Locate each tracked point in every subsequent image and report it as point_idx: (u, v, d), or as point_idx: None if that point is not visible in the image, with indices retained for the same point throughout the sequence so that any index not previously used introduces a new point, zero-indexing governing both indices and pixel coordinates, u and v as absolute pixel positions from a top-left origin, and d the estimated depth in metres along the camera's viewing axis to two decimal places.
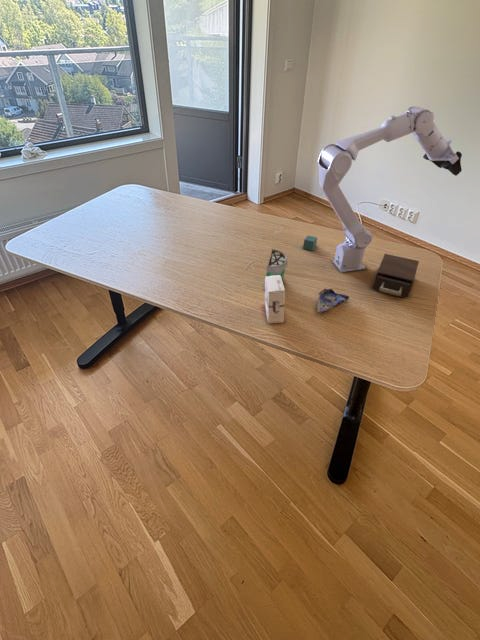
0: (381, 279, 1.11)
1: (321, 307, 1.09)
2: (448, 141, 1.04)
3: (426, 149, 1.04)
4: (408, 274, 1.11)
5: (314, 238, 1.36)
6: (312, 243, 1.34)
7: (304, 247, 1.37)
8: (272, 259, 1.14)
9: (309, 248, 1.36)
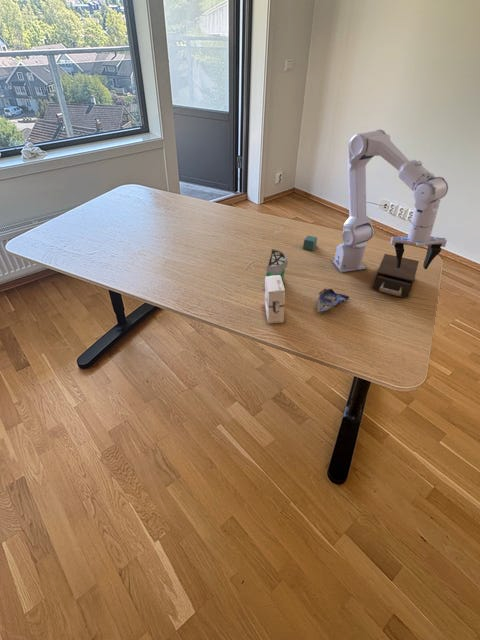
0: (381, 279, 1.11)
1: (321, 307, 1.09)
2: (418, 243, 0.98)
3: None
4: (408, 274, 1.11)
5: (314, 238, 1.36)
6: (312, 243, 1.34)
7: (304, 247, 1.37)
8: (272, 259, 1.14)
9: (309, 248, 1.36)
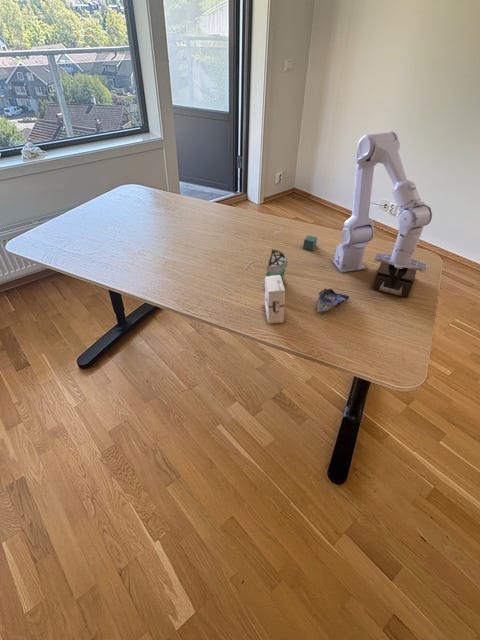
0: (381, 278, 1.12)
1: (321, 307, 1.09)
2: (397, 265, 1.02)
3: None
4: (408, 274, 1.11)
5: (314, 238, 1.36)
6: (312, 243, 1.34)
7: (304, 247, 1.37)
8: (272, 259, 1.14)
9: (309, 248, 1.36)
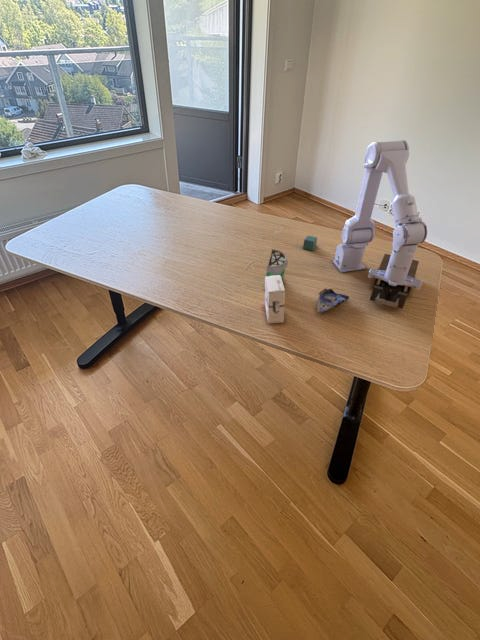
0: (377, 289, 1.07)
1: (321, 307, 1.09)
2: (391, 282, 0.98)
3: None
4: (408, 274, 1.11)
5: (314, 238, 1.36)
6: (312, 243, 1.34)
7: (304, 247, 1.37)
8: (272, 259, 1.14)
9: (309, 248, 1.36)
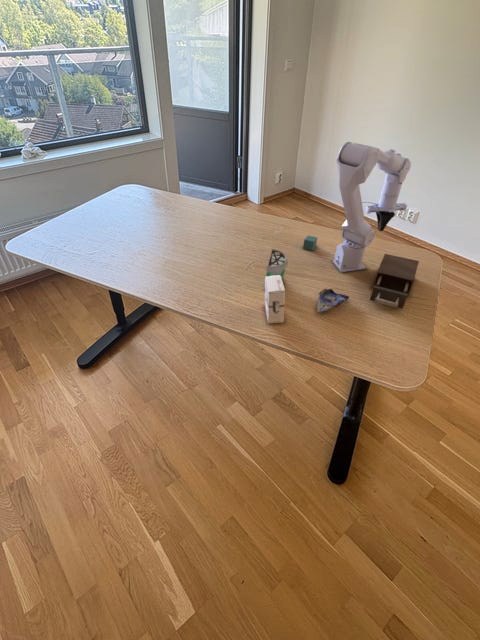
0: (377, 289, 1.07)
1: (321, 307, 1.09)
2: (390, 209, 1.20)
3: None
4: (408, 274, 1.11)
5: (314, 238, 1.36)
6: (312, 243, 1.34)
7: (304, 247, 1.37)
8: (272, 259, 1.14)
9: (309, 248, 1.36)
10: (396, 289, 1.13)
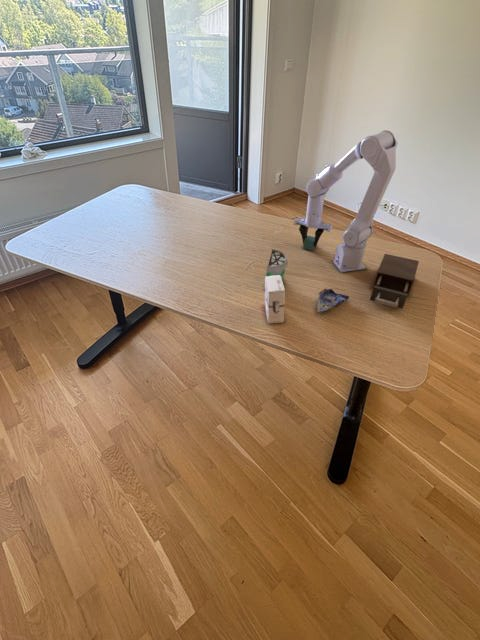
0: (377, 289, 1.07)
1: (321, 307, 1.09)
2: None
3: (314, 215, 1.26)
4: (408, 274, 1.11)
5: (314, 238, 1.36)
6: (312, 243, 1.34)
7: (304, 247, 1.37)
8: (272, 259, 1.14)
9: (309, 248, 1.36)
10: (396, 289, 1.13)
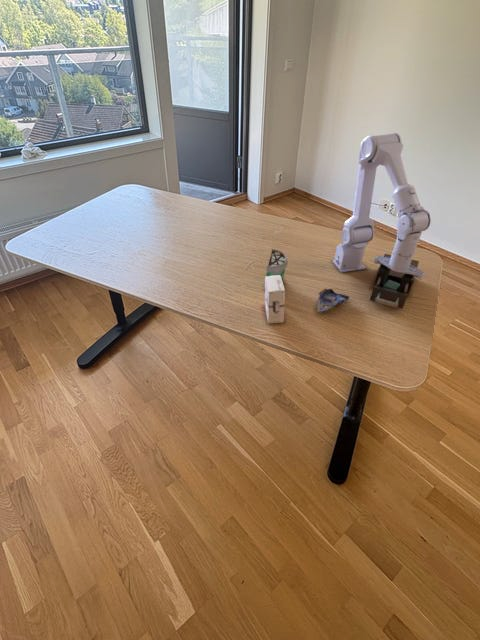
0: (377, 289, 1.07)
1: (321, 307, 1.09)
2: None
3: (403, 256, 0.99)
4: None
5: (397, 285, 1.08)
6: None
7: None
8: (272, 259, 1.14)
9: None
10: None
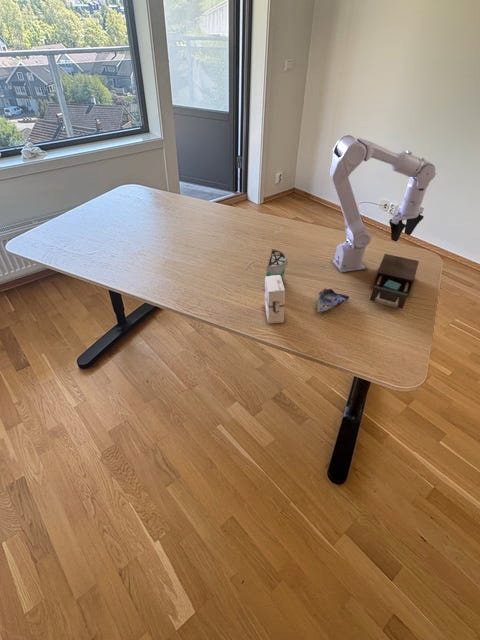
0: (377, 289, 1.07)
1: (321, 307, 1.09)
2: (401, 208, 1.18)
3: (421, 201, 1.12)
4: (408, 274, 1.11)
5: (397, 285, 1.08)
6: None
7: None
8: (272, 259, 1.14)
9: None
10: None
